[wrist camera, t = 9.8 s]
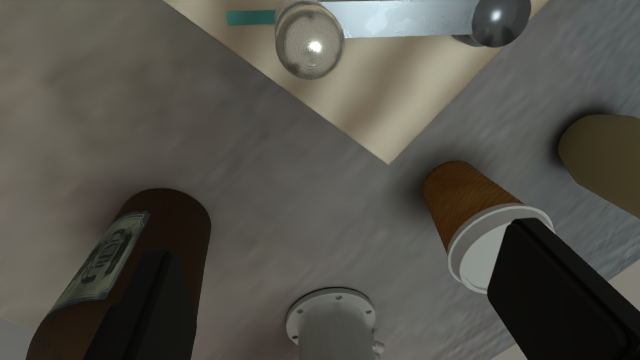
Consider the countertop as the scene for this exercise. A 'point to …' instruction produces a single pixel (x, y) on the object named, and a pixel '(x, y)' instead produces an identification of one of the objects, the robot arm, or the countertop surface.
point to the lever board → (356, 72)
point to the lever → (385, 26)
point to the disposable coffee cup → (472, 219)
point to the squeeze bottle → (605, 157)
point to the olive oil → (124, 268)
